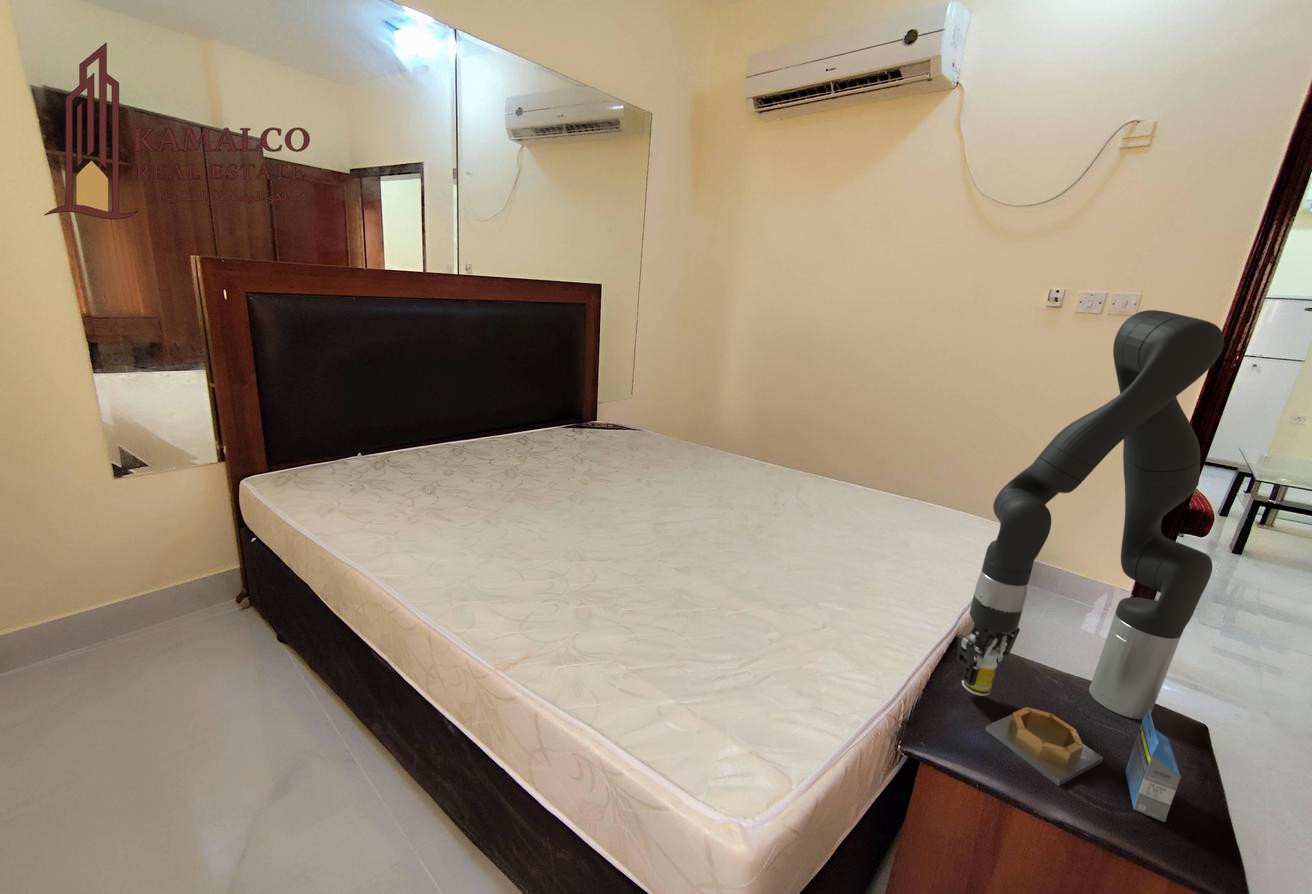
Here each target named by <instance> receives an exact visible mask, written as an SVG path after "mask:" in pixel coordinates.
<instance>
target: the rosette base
mask: <svg viewBox="0 0 1312 894" xmlns="http://www.w3.org/2000/svg"><path fill="white" fill-rule="evenodd" d="M985 731H986V733H987V732H988V733H989V734H990V735H991V736H992V737H994V738H995V739H996V740H998V741H999V742H1000V743H1002V744H1003V745H1004V746H1005V747H1007V748H1008V749H1010V750H1011V751H1012V752H1014V754H1016V755H1017V756H1018V757H1020V758H1022V760H1024V761H1025V762H1026V763H1028V764H1029V765H1030V766H1031V767H1033V768H1034V769H1036V770H1037V771H1038V772H1039V773H1040V774H1042V775H1043V776H1044V777H1046V778H1047V779H1048V780H1050V781H1051V782H1052V783H1054V784H1055V785H1056V786H1057V787H1060V786H1062V785H1063V784H1066V783H1067V782H1069V781H1070V780H1072V779H1074V778H1076V777H1078V776H1080V775H1081V774H1083V773H1085V772H1087V771H1088V770H1091V769H1092V768H1094V767H1096V766H1098V765H1100V764H1102V762H1103V759H1104V757H1103V756H1101V755H1100V754H1098V753H1097V752H1096V751H1095V750H1093V749H1091V748H1090V747H1089V746H1087V745H1085V744H1084V743H1083V741H1082V740H1081V737H1080V736H1079V733H1078V731H1077V729H1075V728H1074V727H1072V726H1071V725H1070V724H1068V723H1066V722H1065V721H1064V720H1062V719H1060V718H1059V717H1058V716H1056V715H1054V714H1053V713H1050V712H1048V711H1044V710H1039V709H1036V708H1032V707H1030V706H1029V707H1028V706H1026V707H1023V708H1020V709H1019V710H1017V711H1014V712H1012V714H1010V715H1007V716H1005V717H1003V718H1001V719H997V720H996V721H994V722H991V723H988V724H987V725H986V726H985Z"/></svg>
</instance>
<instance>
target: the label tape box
mask: <svg viewBox="0 0 1312 894" xmlns="http://www.w3.org/2000/svg"><path fill="white" fill-rule="evenodd" d="M1150 710H1151V709H1149V711H1148V712H1147V714H1146V716H1145V717H1144V719H1141V724H1140V727H1139V730H1138V732H1137V736H1136V739H1135V742H1134V745H1133V747H1132V750H1131V753H1130V756H1129V760H1128V763H1127V766H1126V768H1125V774H1126V775H1125V776H1126V779H1127V785H1128V789H1129V793H1130V800H1131V804H1132V807H1133V810H1134V811H1137V812H1139V813H1142V814H1143V815H1145V816H1148V817H1150V816H1151V817H1150V818H1153V819H1156V820H1158V821H1160V822H1162V823H1163V822H1164V823H1165V822H1166V820H1167V818H1168V814H1169V812H1170V811H1169V810H1170V808H1171V805H1172V803H1173V799H1174V797H1175V795H1176V793H1177V792H1176V791H1177V789H1178V786H1179V784H1180V780H1181V779H1182V776H1181V774H1180V770H1179V767H1178V764H1177V761H1176V757H1175V755H1174V752H1173V748H1172V745H1171V742H1170V739H1169V738H1168V737H1166V736H1165V735H1164V734H1162V733H1161V732H1160V731H1158V730H1157V729H1156V728H1155V726H1154V721H1153V718H1152V713H1151V712H1150Z"/></svg>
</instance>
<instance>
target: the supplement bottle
mask: <svg viewBox="0 0 1312 894" xmlns="http://www.w3.org/2000/svg"><path fill="white" fill-rule="evenodd" d="M976 649H977V650H978V651H980V652H981V653H982V652H983V651H982V650H980V649H979V648H977V647H976ZM997 656H998V652H997V650H996V649H991V651H990V653H989V655H988V657H987V659H983V661H982V663H981V665H980V667H979V668H978V669H979V671H978V675H977V679H976V683H975V685H972V686H970V685H969V684H967V683H966V682H965V681H963V680H962V679H961V684H962V687H964V689H965V690H967V691H968V692H969V693H971V694H973V695H977V696H980V697H981V696H983V697H985V696H989V694H991V690H992V687H993V683H994V680H995V677H996V673H997V670H996V669H998V666H997V662H996V660H997ZM976 659H977V656H976V655H974V661H976ZM994 676H995V677H994Z"/></svg>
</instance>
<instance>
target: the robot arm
mask: <svg viewBox="0 0 1312 894" xmlns="http://www.w3.org/2000/svg"><path fill="white" fill-rule="evenodd" d="M1224 342H1225V337H1224V334H1223V331H1222V330H1221V329H1220V327H1218V325H1217V324H1215V323H1212V322H1210V321H1208V320H1204V319H1200V318H1196V317H1192V316H1189V315H1184V314H1179V313H1174V312H1170V311H1165V310H1159V309H1158V310H1156V309H1153V310H1152V309H1147V310H1143V311H1139V312H1136V313H1134V314H1133V315H1131V316H1129V317H1128V318H1127V319H1126V320H1125V321H1124V322H1123V323H1122V324H1121V325H1120V327H1119V329H1118V331H1117V333H1116V335H1115V338H1114V342H1113V349H1112V350H1113V354H1112V355H1113V360H1114V367H1115V373H1116V377H1117V383H1118V388H1119V389H1118V390H1119V394H1118V395H1117V396H1116V397H1114V398H1113V399H1111V400H1110V401H1109V402H1107V403H1104V405H1102V406H1100V407H1099V408H1097V409H1095V410H1092V411H1091V412H1089V413H1086V414H1085V415H1083V416H1081V417H1080V418H1078V419H1076V420H1073V422H1071V423H1069V424H1068V425H1066V427H1064V428H1063V429H1062V430H1060V431H1059V432H1058V433H1057V434H1056V435H1055V436H1054V437H1053V439H1052V440H1050V442H1049V443H1048V444H1047V446H1045V448H1044V449H1043V450H1042V452H1041V453H1040V454H1039V456H1037V458H1035V460H1033V462H1032V464H1030V465H1029V466H1028V467H1027V468H1025V469H1024V470H1022V471H1021V472H1019V474H1017V475H1016V476H1015V477H1014V478H1013V479H1011V480H1010V481H1009V482H1008V483H1006V484H1005V485H1004V486H1003V487H1002V489H1000V491H999V492H998V494H997V495H996V497H995V498H994V501H993V505H992V507H993V513H994V515H995V516H996V518H997V519H998V521H999V523H1000V525H999V531H998V534H997V537H996V539H995V540H992V541H991V542H990V543H989V545H988V547H987V549H986V552H985V556H984V559H983V564H982V568H981V571H980V574H979V575H978V578H977V582H976V585H975V587H974V588H975V589H974V593H973V597H972V602H971V605H970V610H969V616H970V617H971V619H972V621H973V626H972V628H971V629H970V633H969V635H967V636H964V635H963V634H959V636H958V637H957V653H956V660H957V663H960V664H962V665H963V666H964V667H963V671H962V673H961V674H962V675H961V681H962V680H963V681H965V682H966V683H967V684H969V685H970V686H972V685H975V683H976V679H977V675H978V671H979V669H978V668H979V667H980V665H981V663H982V661H983V659H987V657H988V655H989V653H990V651H991V649H996V650H997V652H998V656H997V660H996V662H997V667H998V665H999V662H1002V660H1003V657H1005V658H1006V657H1009V655H1010V653H1011V651H1012V648H1013V647H1014V644H1015V643H1016V640H1017V638H1018V635H1019V633H1020V631H1021V628H1019V624H1020V621H1021V618H1022V614H1023V609H1024V607H1025V602H1026V599H1027V596H1028V586H1029V581H1030V576H1031V574H1032V570H1033V567H1034V561H1035V560H1036V558H1037V556H1038V555H1039V553H1041V551H1042V549H1043V547H1044V545H1045V543H1046V541H1047V539H1048V538H1049V535H1050V531H1051V527H1052V514H1051V511H1050V509H1049V508H1048V506H1047V504H1048V503H1049V502H1050V501H1051V500H1053V499H1054V497H1056V496H1058V495H1059V494H1060V493H1061V494H1069V493H1071V492H1073V491H1074V490H1076V489H1077V488H1078V487H1079V486H1080V485H1081V484H1082V483H1083V482H1084V481H1085V479H1086V478H1087V477H1088V476H1089V475H1090V474H1091V473H1092V472H1093V471H1094V470H1095V469H1096V467H1097V466H1099V464H1100V463H1101V462H1102V461H1103V460H1104V458H1106V456H1107V455H1109V453H1111V452H1112V451H1113V450H1114V449H1115V448H1116V446H1117V445H1119V444H1120V443H1121V442H1123V449H1122V450H1123V451H1122V452H1123V453H1122V461H1123V462H1122V463H1123V464H1122V465H1123V478H1124V479H1123V480H1124V504H1125V505H1124V507H1125V509H1124V521H1123V523H1124V524H1123V530H1122V531H1123V533H1122V538H1121V539H1122V540H1121V541H1122V542H1121V549H1120V550H1121V551H1120V565H1121V569H1122V572H1123V573H1124V574H1125V576H1127V577H1129V578H1130V579H1132V580H1133V581H1135V582H1137V583H1138V584H1141V585H1143V586H1145V587H1147V588H1150V589H1152V590H1154V591H1156V592H1158V593H1160V595H1159V596H1158V599H1157V600H1156V599H1155V600H1154V599H1149V598H1144V597H1124V598H1122V599H1121V600H1119V602H1118V605H1117V607H1116V610H1115V613H1114V616H1113V619H1112V620H1111V624H1110V627H1109V631H1108V633H1107V636H1106V639H1105V641H1104V645H1103V648H1102V651H1101V653H1100V657H1099V659H1098V662H1097V664H1096V668H1095V670H1094V674H1093V676H1092V679H1091V682H1092V683H1090V685H1089V687H1088V688H1089V689H1088V691H1089V695H1091V696H1092V698H1093V699H1094V700H1095V701H1096V702H1097V703H1099V704H1100V705H1101V706H1102V707H1104V708H1106V709H1107V710H1108V711H1111V712H1114V713H1115V714H1118V715H1120V716H1123V717H1126V718H1130V719H1133V720H1134V719H1135V720H1143V719H1144V717H1145V716H1146V714H1147V712H1148V711H1149V709H1151V710H1150V712H1151V714H1152V712H1153V710H1154V708H1155V707H1154V706H1156V702H1157V699H1158V698H1159V694H1160V692H1161V690H1162V687H1163V684H1164V682H1165V680H1166V677H1167V674H1168V671H1169V670H1170V666H1171V663H1172V661H1173V659H1174V656H1175V654H1176V650H1177V648H1178V646H1179V642H1180V641H1181V637H1182V636H1183V632H1184V630H1185V628H1186V627H1187V625H1188V624H1189V622H1190V621H1191V619H1192V617H1193V615H1194V613H1195V611H1196V607H1197V606H1198V604H1199V601H1200V600H1201V598H1202V596H1203V593H1204V591H1205V589H1206V587H1207V586H1208V583H1209V581H1210V579H1211V576H1212V573H1213V561H1212V558H1211V557H1210V555H1209V554H1207V553H1206V552H1203V551H1201V550H1198V549H1196V548H1193V547H1191V546H1187V545H1186V544H1183V543H1181V542H1177V541H1175V540H1172V539H1170V538H1167V537H1165V536H1164V535H1163V533H1162V522H1163V518H1164V516H1166V515H1167V514H1168V513H1169V512H1170V511H1172V510H1173V509H1175V508H1176V507H1178V506H1179V505H1180V504H1181V503H1183V502H1185V501H1186V500H1187V499H1188V498H1189V497H1190V496H1191V495H1192V494H1193V493H1194V492H1195V490H1196V489H1197V487H1198V486H1199V484H1200V483H1199V482H1200V476H1201V448H1200V447H1201V446H1200V443H1199V440H1198V438H1197V435H1196V433H1195V431H1194V429H1193V428H1194V427H1192V424H1191V423H1190V420H1189V419H1188V417H1187V415H1186V414H1185V412H1184V410H1183V408H1182V407H1181V405H1180V402H1179V400H1178V396H1179V395H1180V394H1181V393H1182V392H1184V391H1185V390H1186V389H1188V388H1189V387H1190V386H1191V385H1193V384H1194V383H1195V382H1197V381H1198V380H1199V378H1200V379H1201V377H1202V376H1203V375H1204V374H1205V373H1206V372H1207V371H1208V370H1209V369H1210V368H1211V367H1212V366H1213V365H1214V364H1215V363H1216V362H1217V360H1218V358H1219V357H1220V355H1221V353H1222V352H1223V349H1224V346H1225V345H1224ZM976 647H977V648H979V649H980V650H982V651H983V652H982V653H981V652H980V651H978V650H977V649H976ZM974 655H976V656H977V659H976V661H974ZM997 669H998V668H997ZM997 669H996V671H997ZM995 677H996V675H995V676H994V678H995Z"/></svg>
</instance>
